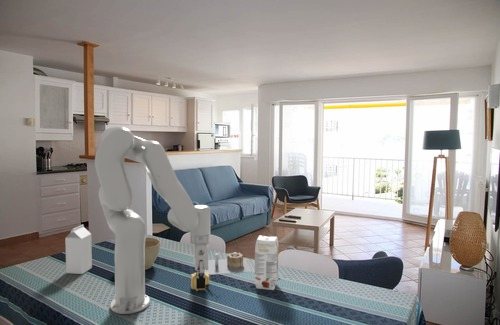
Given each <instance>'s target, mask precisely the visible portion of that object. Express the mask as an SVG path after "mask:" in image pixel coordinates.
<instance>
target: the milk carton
mask: <svg viewBox="0 0 500 325" xmlns="http://www.w3.org/2000/svg"><path fill="white" fill-rule="evenodd" d="M64 244H65V273H66V274H77V275H83V274H85V273H86V272H88V271H89V270H91V269H92V268H93V259H92V258H93V257H92V256H93V255H92V254H93V252H92V233H91V232H90V231H89V230H88V229H87V228H85V225H84V224H80V225H78V226H76V227H74V228H72V230H70V233H69V234H68V235H67V236H66V237H65V243H64Z"/></svg>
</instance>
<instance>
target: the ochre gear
mask: <svg viewBox="0 0 500 325" xmlns="http://www.w3.org/2000/svg"><path fill="white" fill-rule="evenodd" d="M199 273H200V272H199ZM190 276H191V278H190V286H191V290H196V292H198V291H205V290H206V289H208V287H207V286H206V285H209V284H210V275H209V273H205V288H202V289H197V288H196V278H197V272H194V273H191V275H190Z"/></svg>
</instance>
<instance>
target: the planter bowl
mask: <svg viewBox="0 0 500 325" xmlns="http://www.w3.org/2000/svg"><path fill="white" fill-rule="evenodd" d="M160 247H161V240H159V238H155V237H147V236H146V239H145V271H146V270H149V269H151V268H152V267H153V265H154V263H155V261H156V260H157V257H158V256H159V253H160Z"/></svg>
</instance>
